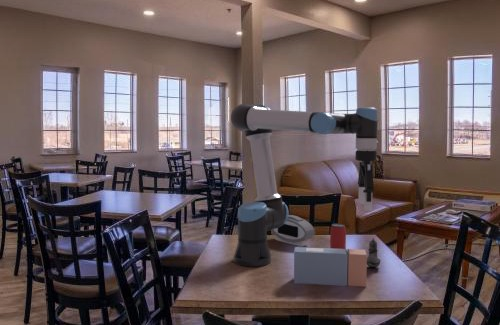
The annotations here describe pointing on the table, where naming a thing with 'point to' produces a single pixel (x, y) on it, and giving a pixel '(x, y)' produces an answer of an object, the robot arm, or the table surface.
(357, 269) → the stub
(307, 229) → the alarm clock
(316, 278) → the gray rectangular box
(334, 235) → the beer can
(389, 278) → the table surface
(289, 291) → the table surface
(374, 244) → the dark rounded upright piece
